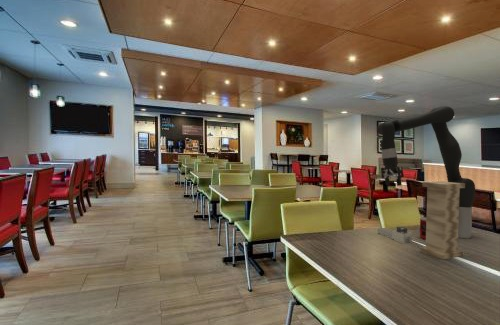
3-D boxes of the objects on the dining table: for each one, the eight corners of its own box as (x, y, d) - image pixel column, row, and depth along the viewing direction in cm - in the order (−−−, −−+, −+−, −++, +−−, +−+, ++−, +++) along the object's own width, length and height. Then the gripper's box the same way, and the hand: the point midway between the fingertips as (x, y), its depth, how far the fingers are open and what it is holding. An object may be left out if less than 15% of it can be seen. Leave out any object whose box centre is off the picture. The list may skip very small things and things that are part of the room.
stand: (440, 248, 133) (442, 181, 132) (462, 255, 123) (465, 183, 122) (420, 252, 127) (422, 182, 126) (442, 259, 118) (444, 184, 117)
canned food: (431, 237, 152) (431, 217, 152) (439, 241, 144) (440, 220, 144) (416, 236, 153) (417, 217, 152) (424, 240, 145) (425, 220, 145)
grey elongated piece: (383, 233, 159) (383, 221, 159) (411, 242, 142) (412, 229, 142) (375, 234, 157) (375, 222, 156) (403, 243, 140) (403, 230, 140)
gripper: (404, 155, 147) (409, 184, 147) (386, 157, 161) (389, 184, 161) (393, 156, 146) (397, 186, 145) (375, 158, 159) (379, 186, 159)
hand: (393, 185), depth 153 cm, fingers open, 8 cm apart
